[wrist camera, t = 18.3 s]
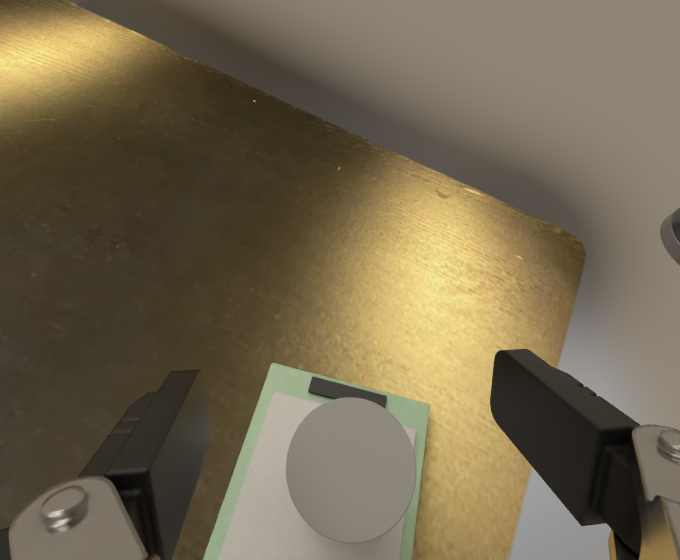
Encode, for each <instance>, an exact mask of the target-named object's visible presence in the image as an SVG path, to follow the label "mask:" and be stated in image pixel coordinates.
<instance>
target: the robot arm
mask: <svg viewBox="0 0 680 560" xmlns="http://www.w3.org/2000/svg"><path fill="white" fill-rule="evenodd" d="M490 405H491V411H492V415H493V417H494V419H495V421H496V423H497V424H498V426H499V427H500V428H501V429H502V430H503V432H504V433H505V434H506V435H507V436H508V438H509V439H510V440H511V441H512V442H513V444H514V445H515V446H516V447H517V449H518V450H519V451H520V452H521V453H522V455H523V456H524V457H525V458H526V459H527V461H528V462H529V463H530V464H531V465H532V467H533V468H534V469H535V470H536V471H537V472H538V474H539V475H540V476H541V477H542V479H543V480H544V481H545V482H546V484H547V485H548V486H549V487H550V488H551V490H552V491H553V492H554V493H555V494H556V496H557V497H558V498H559V499H560V500H561V502H562V503H563V504H564V505H565V506H566V508H567V509H568V510H569V511H570V513H571V514H572V515H573V516H574V517H575V519H576V520H577V521H578V522H579V523H580V525H581V526H586V525H594V524H602V523H607V524H608V525H609V526H610V527H611V532H610V536H609V553H610V560H680V430H677V429H673V428H670V427H665V426H659V425H640V424H638V423H637V422H635V421H634V420H633V419H631V418H630V417H628V416H627V415H625V414H624V413H623V412H621V411H620V410H618V409H617V408H616V407H614V406H613V405H611V404H610V403H609V402H607V401H606V400H604V399H603V398H602V397H600V396H597V395H596V393H594V392H593V391H592V390H590V389H589V388H588V387H584V386H583V384H582V383H580V382H579V381H578V380H576V379H575V378H573V377H572V376H571V375H569V374H568V373H565V372H563V371H561V370H559V369H556V368H554V367H552V366H550V365H549V364H548V363H546V362H545V361H543V360H542V359H541V358H539V357H538V356H537V355H535V354H534V353H532V352H531V351H530V350H528V349H515V350H500V351H498V352H497V353H496V355H495V359H494V368H493V378H492V388H491V398H490ZM209 440H210V417H209V409H208V400H207V392H206V383H205V376H204V372H203V371H202V370H201V369H200V370H184V371H171V372H170V373H169V374H168V376H167V378H166V379H165V381H164V382H163V384H162V385H161V387H160V388H159V390H158V391H157V392H148V393H146V394H145V395H144V396H142V397H141V398H140V399H138V400H137V401H135V402H134V403H133V404H131V405H130V406H129V408H128V409H127V410H126V412H125V413H124V414H123V416H122V417H121V419H120V422H118V423H117V424H116V425H115V427H114V428H113V429H112V431H111V435H108V436H107V438H106V439H105V440H104V442H103V443H102V444H101V446H100V447H99V449H98V450H97V451H96V453H95V454H94V455H93V457H92V458H91V459H90V461H89V462H88V464H87V465H86V466H85V468H84V469H83V470H82V472H81V473H80V475H79V476H78V477H77V478H74V479H71V480H68V481H65V482H63V483H60V484H58V485H56V486H54V487H52V488H50V489H48V490H46V491H45V492H43V493H41V494H40V495H39V496H37V497H36V498H34V499H33V500H32V501H31V502H29V503H28V504H27V505H26V506H25V507H24V508H23V509H22V510H21V511H20V512H19V513H18V515H17V516H16V517H15V518H14V520H13V522H12V524H11V526H10V527H8V528H5V529H2V530H0V560H172V557H173V554H174V551H175V548H176V545H177V542H178V539H179V535H180V532H181V529H182V526H183V523H184V520H185V517H186V514H187V511H188V508H189V505H190V502H191V499H192V496H193V492H194V489H195V486H196V483H197V480H198V477H199V474H200V471H201V468H202V465H203V462H204V459H205V456H206V453H207V450H208V446H209Z"/></svg>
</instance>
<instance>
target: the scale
mask: <svg viewBox="0 0 680 560" xmlns="http://www.w3.org/2000/svg"><path fill="white" fill-rule="evenodd" d="M346 397H353V398H361V399H366V400H369V401H372V402H374V403H376V404H378V405H380V406H382V407H383V408H385V409H386V410H387V411H389V412H390V413H391V414H392V415H393V416H394V417H395V418H396V419H397V420H398V421H399V422H400V424H401V425H402V426H403V428H404V430H405V431H406V433H407V435H408V437H409V439H410V441H411V444H412V447H413V450H414V454H415V459H416V484H415V489H414V494H413V497H412V500H411V502H410V505H409V507H408V509H407V510H406V512H405V514H404V515H403V517H402V518H401V519H400V521H399V522H398V523H397V524H396V525H395V526H394V527H393V528H392V529H391V530H389V531H388V532H387V533H385V534H384V535H382V536H380V537H378V538H376V539H374V540H371V541H368V542H363V543H353V544H352V543H342V542H337V541H334V540H331V539H329V538H327V537H325V536H323V535H321V534H319V533H318V532H316V531H315V530H314V529H313V528H311V527H310V526H309V525H308V524H307V523H306V521H305V520H304V519H303V518H302V517H301V515H300V514H299V512H298V511H297V509H296V507H295V505H294V503H293V501H292V499H291V496H290V493H289V489H288V485H287V478H286V459H287V453H288V449H289V445H290V442H291V440H292V437H293V435H294V433H295V431H296V429H297V428H298V426H299V425H300V423H301V422H302V421H303V420H304V418H305V417H306V416H307V415H308V414H309V413H310V412H312V411H313V410H314V409H316V408H317V407H318V406H320V405H322V404H324V403H326V402H328V401H331V400H334V399H339V398H346ZM429 409H430V405H429V404H427V403H423V402H419V401H415V400H411V399H408V398H404V397H400V396H396V395H393V394H389V393H385V392H381V391H378V390H374V389H370V388H366V387H363V386H359V385H355V384H351V383H348V382H344V381H340V380H336V379H332V378H329V377H325V376H321V375H317V374H314V373H310V372H306V371H302V370H299V369H295V368H291V367H287V366H284V365H280V364H276V363H272V364H271V366H270V369H269V372H268V375H267V378H266V381H265V384H264V386H263V389H262V392H261V395H260V398H259V401H258V404H257V406H256V409H255V412H254V415H253V418H252V421H251V424H250V426H249V429H248V432H247V435H246V438H245V441H244V443H243V446H242V449H241V452H240V455H239V458H238V461H237V463H236V466H235V469H234V472H233V475H232V478H231V481H230V483H229V486H228V489H227V492H226V495H225V498H224V501H223V503H222V506H221V509H220V512H219V515H218V518H217V521H216V523H215V526H214V529H213V532H212V535H211V538H210V541H209V543H208V546H207V549H206V552H205V555H204V558H203V560H412V554H413V545H414V537H415V528H416V520H417V511H418V503H419V494H420V486H421V477H422V469H423V460H424V452H425V443H426V435H427V426H428V418H429Z"/></svg>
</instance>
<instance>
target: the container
mask: <svg viewBox="0 0 680 560" xmlns="http://www.w3.org/2000/svg"><path fill="white" fill-rule="evenodd" d="M286 478H287V485H288V489H289V493H290V496H291V499H292V501H293V503H294V505H295V507H296V509H297V511H298V512H299V514H300V515H301V517H302V518H303V519H304V520H305V521H306V523H307V524H308V525H309V526H310V527H311V528H313V529H314V530H315V531H316V532H318V533H319V534H321V535H323V536H325V537H327V538H329V539H331V540H334V541H337V542H342V543H352V544H353V543H363V542H368V541H371V540H374V539H376V538H378V537H380V536H382V535H384V534H385V533H387V532H388V531H389V530H391V529H392V528H393V527H394V526H395V525H396V524H397V523H398V522H399V521H400V519H401V518H402V517H403V515H404V514H405V512H406V510H407V509H408V507H409V505H410V502H411V500H412V497H413V494H414V489H415V484H416V459H415V454H414V450H413V447H412V444H411V441H410V439H409V437H408V435H407V433H406V431H405V430H404V428H403V426H402V425H401V424H400V422H399V421H398V420H397V419H396V418H395V417H394V416H393V415H392V414H391V413H390V412H389V411H387V410H386V409H385V408H383V407H382V406H380V405H378V404H376V403H374V402H372V401H369V400H366V399H361V398H353V397H346V398H339V399H334V400H331V401H328V402H326V403H324V404H322V405H320V406H318V407H317V408H316V409H314V410H313V411H312V412H310V413H309V414H308V415H307V416H306V417H305V418H304V420H303V421H302V422H301V423H300V425H299V426H298V428H297V429H296V431H295V433H294V435H293V437H292V440H291V442H290V445H289V449H288V453H287V459H286Z"/></svg>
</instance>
